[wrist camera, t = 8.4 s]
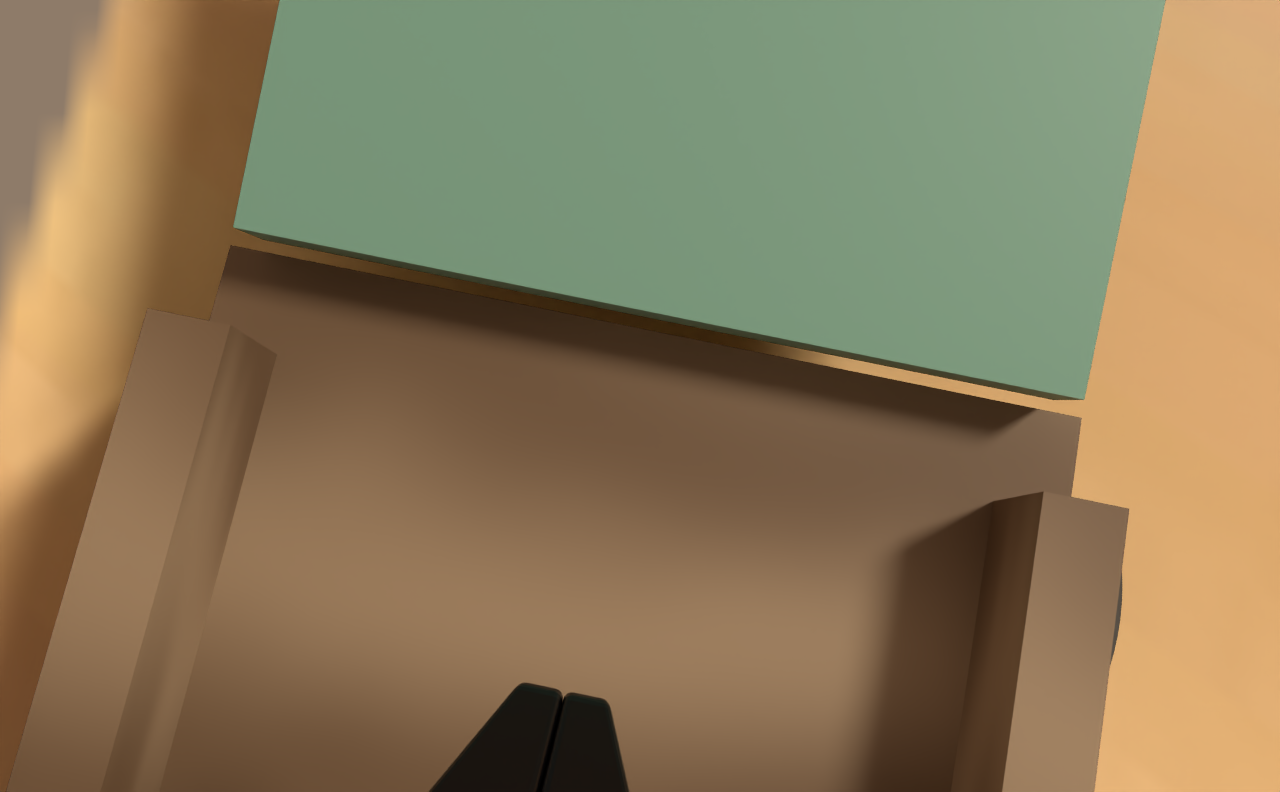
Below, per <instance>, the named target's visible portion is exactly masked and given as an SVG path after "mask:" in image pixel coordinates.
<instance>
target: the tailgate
mask: <svg viewBox="0 0 1280 792" xmlns="http://www.w3.org/2000/svg"><path fill="white" fill-rule="evenodd" d="M1164 5H1165V0H280V1H279V6H278V11H277V16H276V21H275V25H274V30H273V35H272V40H271V45H270V50H269V55H268V60H267V64H266V69H265V74H264V79H263V84H262V89H261V94H260V99H259V103H258V108H257V113H256V118H255V123H254V128H253V133H252V138H251V143H250V147H249V152H248V157H247V162H246V167H245V172H244V177H243V182H242V186H241V191H240V196H239V201H238V206H237V211H236V216H235V221H234V225H233V227H234V228H236V229H238V230H241V231H243V232H246V233H248V234H251V235H253V236H256V237H258V238H260V239H263V240H267V241H272V242H277V243H282V244H287V245H292V246H297V247H302V248H307V249H312V250H317V251H322V252H326V253H331V254H336V255H341V256H346V257H351V258H356V259H361V260H366V261H371V262H376V263H381V264H386V265H391V266H396V267H400V268H405V269H410V270H415V271H420V272H425V273H430V274H435V275H440V276H445V277H450V278H455V279H460V280H465V281H470V282H474V283H479V284H484V285H489V286H494V287H499V288H504V289H509V290H514V291H519V292H524V293H529V294H534V295H539V296H544V297H548V298H553V299H558V300H563V301H568V302H573V303H578V304H583V305H588V306H593V307H598V308H603V309H608V310H613V311H618V312H622V313H627V314H632V315H637V316H642V317H647V318H652V319H657V320H662V321H667V322H672V323H677V324H682V325H687V326H692V327H696V328H701V329H706V330H711V331H716V332H721V333H726V334H731V335H736V336H741V337H746V338H751V339H756V340H761V341H765V342H770V343H775V344H780V345H785V346H790V347H795V348H800V349H805V350H810V351H815V352H820V353H825V354H830V355H835V356H839V357H844V358H849V359H854V360H859V361H864V362H869V363H874V364H879V365H884V366H889V367H894V368H899V369H904V370H909V371H913V372H918V373H923V374H928V375H933V376H938V377H943V378H948V379H953V380H958V381H963V382H968V383H973V384H978V385H983V386H987V387H992V388H997V389H1002V390H1007V391H1012V392H1017V393H1022V394H1027V395H1032V396H1037V397H1042V398H1047V399H1052V400H1084V399H1085V394H1086V389H1087V384H1088V379H1089V374H1090V369H1091V364H1092V359H1093V354H1094V349H1095V344H1096V340H1097V335H1098V330H1099V325H1100V320H1101V315H1102V310H1103V305H1104V300H1105V295H1106V290H1107V285H1108V281H1109V276H1110V271H1111V266H1112V261H1113V256H1114V251H1115V246H1116V241H1117V236H1118V231H1119V227H1120V222H1121V217H1122V212H1123V207H1124V202H1125V197H1126V192H1127V187H1128V182H1129V177H1130V172H1131V168H1132V163H1133V158H1134V153H1135V148H1136V143H1137V138H1138V133H1139V128H1140V123H1141V118H1142V113H1143V109H1144V104H1145V99H1146V94H1147V89H1148V84H1149V79H1150V74H1151V69H1152V64H1153V59H1154V54H1155V50H1156V45H1157V40H1158V35H1159V30H1160V25H1161V20H1162V15H1163V10H1164Z"/></svg>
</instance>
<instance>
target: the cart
mask: <svg viewBox="0 0 1280 792" xmlns="http://www.w3.org/2000/svg"><path fill="white" fill-rule="evenodd" d="M1081 419H1082V418H1079V417H1074V416H1069V415H1064V414H1060V413H1055V412H1050V411H1045V410H1040V409H1035V408H1030V407H1025V406H1020V405H1015V404H1010V403H1005V402H1000V401H995V400H991V399H986V398H981V397H976V396H971V395H966V394H961V393H956V392H951V391H946V390H941V389H936V388H931V387H926V386H922V385H917V384H912V383H907V382H902V381H897V380H892V379H887V378H882V377H877V376H872V375H867V374H862V373H858V372H853V371H848V370H843V369H838V368H833V367H828V366H823V365H818V364H813V363H808V362H803V361H798V360H793V359H789V358H784V357H779V356H774V355H769V354H764V353H759V352H754V351H749V350H744V349H739V348H734V347H729V346H724V345H720V344H715V343H710V342H705V341H700V340H695V339H690V338H685V337H680V336H675V335H670V334H665V333H660V332H655V331H651V330H646V329H641V328H636V327H631V326H626V325H621V324H616V323H611V322H606V321H601V320H596V319H591V318H586V317H582V316H577V315H572V314H567V313H562V312H557V311H552V310H547V309H542V308H537V307H532V306H527V305H522V304H518V303H513V302H508V301H503V300H498V299H493V298H488V297H483V296H478V295H473V294H468V293H463V292H458V291H453V290H449V289H444V288H439V287H434V286H429V285H424V284H419V283H414V282H409V281H404V280H399V279H394V278H389V277H384V276H380V275H375V274H370V273H365V272H360V271H355V270H350V269H345V268H340V267H335V266H330V265H325V264H320V263H315V262H311V261H306V260H301V259H296V258H291V257H286V256H281V255H276V254H271V253H266V252H261V251H256V250H251V249H246V248H242V247H237V246H232V245H231V246H230V249H229V253H228V256H227V260H226V263H225V267H224V271H223V274H222V278H221V281H220V285H219V288H218V292H217V295H216V299H215V302H214V306H213V309H212V313H211V317H210V320H209V321H208V320H203V319H198V318H193V317H188V316H183V315H178V314H173V313H169V312H164V311H159V310H154V309H149V308H148V309H147V312H146V316H145V319H144V322H143V326H142V329H141V333H140V336H139V339H138V343H137V346H136V350H135V353H134V356H133V360H132V363H131V367H130V370H129V373H128V377H127V380H126V384H125V387H124V391H123V394H122V397H121V401H120V404H119V408H118V411H117V414H116V418H115V421H114V425H113V428H112V431H111V435H110V438H109V442H108V445H107V449H106V452H105V455H104V459H103V462H102V466H101V469H100V472H99V476H98V479H97V483H96V486H95V489H94V493H93V496H92V500H91V503H90V506H89V510H88V513H87V517H86V520H85V524H84V527H83V530H82V534H81V537H80V541H79V544H78V547H77V551H76V554H75V558H74V561H73V564H72V568H71V571H70V575H69V578H68V582H67V585H66V588H65V592H64V595H63V599H62V602H61V605H60V609H59V612H58V616H57V619H56V622H55V626H54V629H53V633H52V636H51V639H50V643H49V646H48V650H47V653H46V657H45V660H44V663H43V667H42V670H41V674H40V677H39V680H38V684H37V687H36V691H35V694H34V697H33V701H32V704H31V708H30V711H29V714H28V718H27V721H26V725H25V728H24V732H23V735H22V738H21V742H20V745H19V749H18V752H17V755H16V759H15V762H14V766H13V769H12V772H11V776H10V779H9V783H8V786H7V790H6V792H428V791H429V790H430V789H431V788H432V786H433V785H434V784H435V783H436V782H437V780H438V779H439V778H440V777H441V776H442V774H443V773H444V772H445V771H446V770H447V768H448V767H449V766H450V765H451V764H452V762H453V761H454V760H455V759H456V758H457V756H458V755H459V754H460V753H461V752H462V750H463V749H464V748H465V747H466V746H467V744H468V743H469V742H470V741H471V740H472V738H473V737H474V736H475V735H476V734H477V732H478V731H479V730H480V729H481V728H482V726H483V725H484V724H485V723H486V722H487V720H488V719H489V718H490V717H491V716H492V714H493V713H494V712H495V711H496V710H497V708H498V707H499V706H500V705H501V704H502V702H503V701H504V700H505V699H506V698H507V696H508V695H509V694H510V693H511V692H512V691H513V689H514V688H515V687H517V686H518V685H519V684H521V683H524V682H528V683H532V684H537V685H542V686H547V687H551V688H556V689H558V690H560V691H561V692H562V695H563V698H564V696H565V695H566V694H568V693H570V692H575V693H580V694H585V695H589V696H594V697H599V698H603V699H605V700H606V701H607V702H608V703H609V705H610V707H611V711H612V715H613V720H614V724H615V729H616V733H617V738H618V742H619V747H620V751H621V756H622V760H623V765H624V769H625V774H626V778H627V783H628V787H629V792H1094V789H1095V781H1096V773H1097V765H1098V757H1099V749H1100V741H1101V733H1102V725H1103V717H1104V709H1105V701H1106V693H1107V684H1108V676H1109V668H1110V664H1111V661H1112V657H1113V654H1114V650H1115V645H1116V640H1117V636H1118V630H1119V623H1120V616H1121V605H1122V564H1123V555H1124V547H1125V539H1126V531H1127V523H1128V515H1129V509H1128V508H1123V507H1118V506H1113V505H1108V504H1103V503H1098V502H1093V501H1088V500H1083V499H1079V498H1074V497H1071V494H1072V486H1073V479H1074V471H1075V464H1076V456H1077V449H1078V441H1079V434H1080V426H1081Z"/></svg>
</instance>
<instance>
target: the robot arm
mask: <svg viewBox="0 0 1280 792" xmlns="http://www.w3.org/2000/svg"><path fill="white" fill-rule="evenodd" d="M428 792H629V787H628V783H627V778H626V774H625V769H624V765H623V760H622V756H621V751H620V747H619V742H618V738H617V733H616V729H615V724H614V720H613V715H612V711H611V707H610V705H609V703H608V702H607V701H606V700H605V699H603V698H599V697H594V696H589V695H585V694H580V693H575V692H570V693H568V694H566V695H565V696H564V698H563V695H562V692H561V691H560V690H558V689H556V688H551V687H547V686H542V685H537V684H532V683H528V682H524V683H521V684H519V685H518V686H517V687H515V688H514V689H513V691H512V692H511V693H510V694H509V695H508V696H507V698H506V699H505V700H504V701H503V702H502V704H501V705H500V706H499V707H498V708H497V710H496V711H495V712H494V713H493V714H492V716H491V717H490V718H489V719H488V720H487V722H486V723H485V724H484V725H483V726H482V728H481V729H480V730H479V731H478V732H477V734H476V735H475V736H474V737H473V738H472V740H471V741H470V742H469V743H468V744H467V746H466V747H465V748H464V749H463V750H462V752H461V753H460V754H459V755H458V756H457V758H456V759H455V760H454V761H453V762H452V764H451V765H450V766H449V767H448V768H447V770H446V771H445V772H444V773H443V774H442V776H441V777H440V778H439V779H438V780H437V782H436V783H435V784H434V785H433V786H432V788H431V789H430V790H429V791H428Z"/></svg>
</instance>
